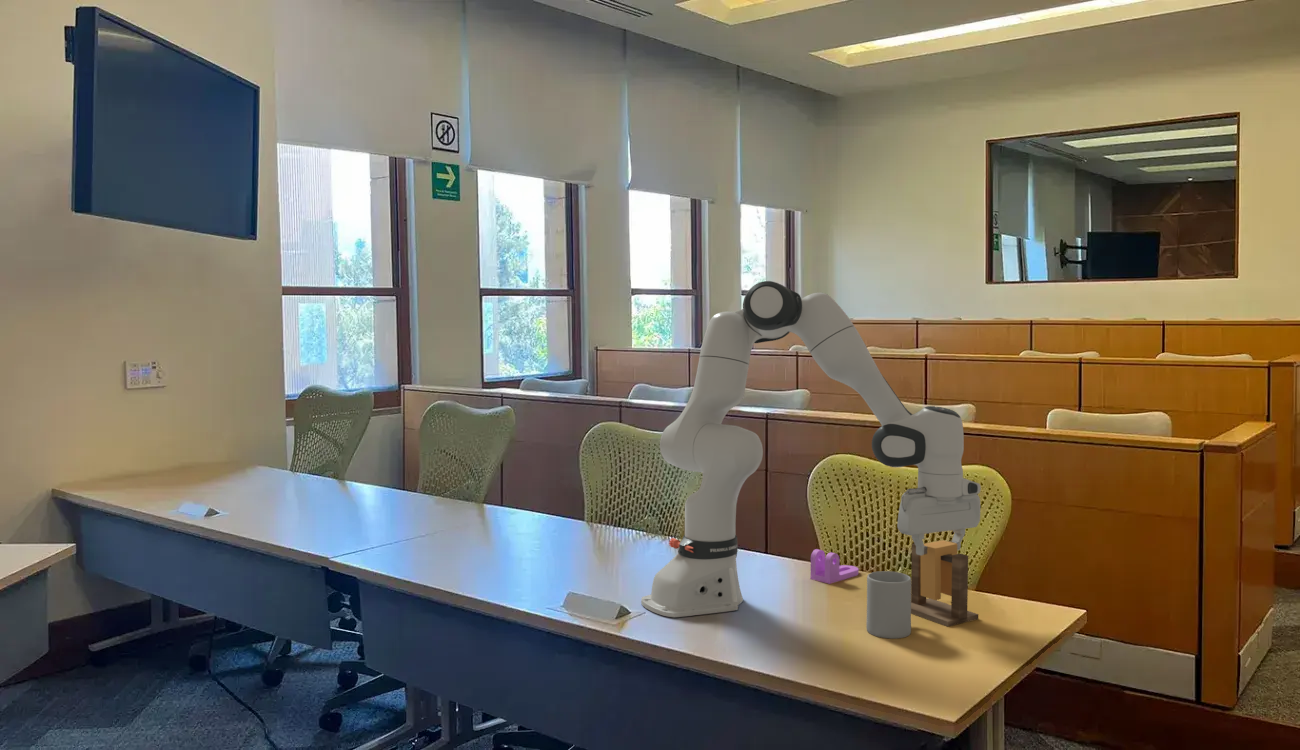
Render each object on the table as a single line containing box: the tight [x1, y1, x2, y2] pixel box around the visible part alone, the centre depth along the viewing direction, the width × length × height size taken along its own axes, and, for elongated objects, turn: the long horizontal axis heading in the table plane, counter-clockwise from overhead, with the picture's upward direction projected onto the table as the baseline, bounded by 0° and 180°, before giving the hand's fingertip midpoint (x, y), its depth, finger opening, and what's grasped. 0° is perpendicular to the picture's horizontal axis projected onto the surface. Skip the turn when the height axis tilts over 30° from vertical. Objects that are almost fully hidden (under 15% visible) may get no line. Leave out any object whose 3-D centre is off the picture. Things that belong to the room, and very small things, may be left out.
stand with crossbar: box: [910, 543, 979, 627], centre depth 196 cm, size 9×13×14 cm
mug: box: [865, 570, 912, 639], centre depth 187 cm, size 12×8×11 cm
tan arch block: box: [920, 539, 958, 601], centre depth 196 cm, size 6×4×11 cm, turn 120°
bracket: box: [810, 548, 859, 585], centre depth 226 cm, size 13×6×7 cm, turn 131°
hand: (938, 552), depth 195 cm, fingers open, 8 cm apart
